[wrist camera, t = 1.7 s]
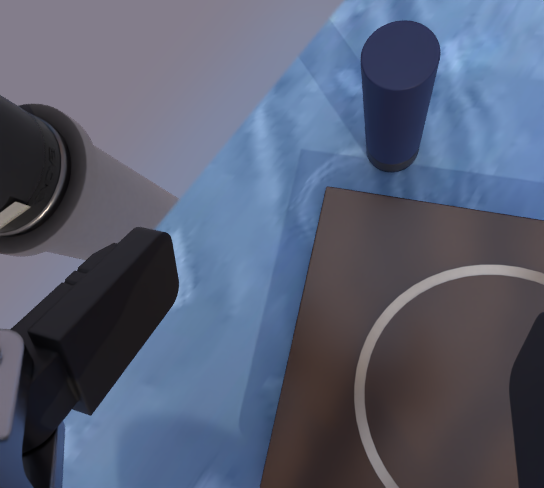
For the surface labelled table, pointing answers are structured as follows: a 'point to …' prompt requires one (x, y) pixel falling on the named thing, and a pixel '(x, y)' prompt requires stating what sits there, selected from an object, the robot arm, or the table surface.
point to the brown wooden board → (406, 347)
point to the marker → (397, 91)
